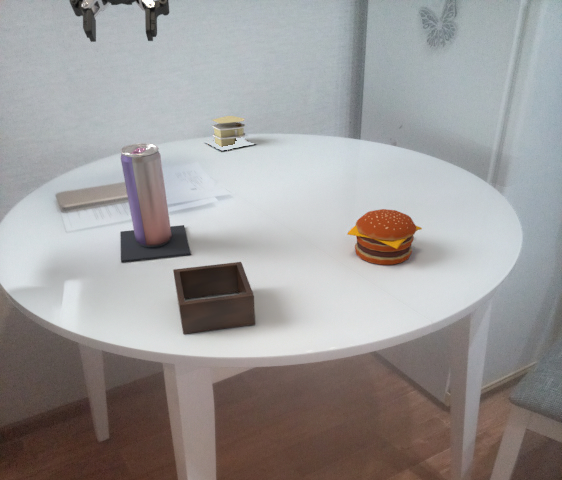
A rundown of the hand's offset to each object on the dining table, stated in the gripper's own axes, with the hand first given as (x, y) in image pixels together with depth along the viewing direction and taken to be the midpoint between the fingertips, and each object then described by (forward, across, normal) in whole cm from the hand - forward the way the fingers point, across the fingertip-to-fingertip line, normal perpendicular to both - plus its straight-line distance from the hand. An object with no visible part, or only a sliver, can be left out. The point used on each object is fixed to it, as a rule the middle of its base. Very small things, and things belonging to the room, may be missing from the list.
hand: (120, 37), depth 83 cm
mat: (+27, +2, +14) cm, 30 cm away
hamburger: (+31, +40, +10) cm, 51 cm away
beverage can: (+27, +2, +14) cm, 30 cm away
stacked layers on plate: (-11, +14, +52) cm, 55 cm away
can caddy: (+42, +13, -2) cm, 44 cm away
